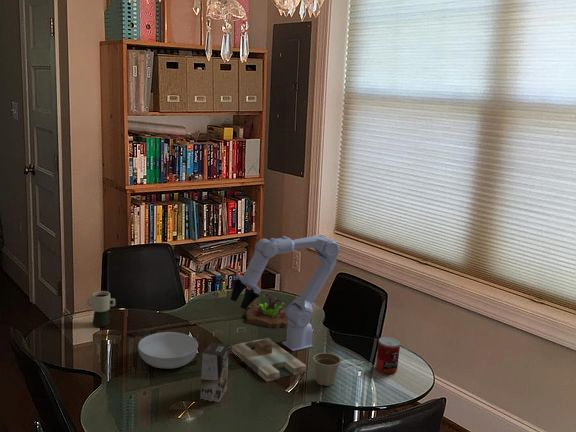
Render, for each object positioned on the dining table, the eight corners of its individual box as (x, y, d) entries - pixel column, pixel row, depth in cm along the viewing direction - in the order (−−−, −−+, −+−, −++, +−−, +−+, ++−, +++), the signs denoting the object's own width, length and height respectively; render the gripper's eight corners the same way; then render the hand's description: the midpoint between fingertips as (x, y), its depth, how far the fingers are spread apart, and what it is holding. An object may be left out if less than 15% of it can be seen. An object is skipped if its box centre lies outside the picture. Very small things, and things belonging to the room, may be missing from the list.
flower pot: (330, 391, 219) (332, 367, 217) (306, 383, 223) (308, 359, 221) (343, 381, 226) (345, 358, 224) (320, 373, 231) (321, 350, 229)
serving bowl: (125, 367, 226) (126, 349, 224) (157, 345, 245) (158, 327, 243) (179, 381, 219) (179, 362, 217) (207, 356, 238) (208, 339, 237)
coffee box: (219, 403, 207) (221, 355, 203) (199, 399, 208) (201, 352, 204) (227, 389, 215) (229, 344, 212) (208, 386, 216) (210, 341, 213)
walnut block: (265, 348, 242) (265, 339, 241) (271, 353, 238) (272, 344, 238) (254, 350, 240) (255, 341, 239) (261, 355, 236) (261, 346, 235)
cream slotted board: (267, 343, 252) (267, 337, 251) (305, 372, 231) (306, 365, 230) (230, 351, 243) (230, 345, 243) (266, 381, 222) (267, 374, 222)
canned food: (384, 375, 232) (387, 347, 230) (371, 366, 239) (374, 338, 236) (401, 372, 236) (404, 344, 233) (388, 363, 242) (391, 335, 240)
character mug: (116, 321, 263) (116, 291, 260) (113, 328, 256) (114, 297, 253) (88, 321, 262) (88, 290, 259) (85, 328, 255) (84, 296, 252)
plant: (250, 308, 288) (252, 284, 285) (294, 313, 286) (296, 288, 283) (241, 325, 269) (243, 299, 266) (288, 330, 266) (290, 305, 264)
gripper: (236, 260, 239) (220, 293, 239) (256, 274, 228) (239, 308, 228) (251, 266, 243) (234, 299, 244) (271, 280, 232) (254, 314, 232)
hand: (237, 304), depth 236 cm, fingers open, 7 cm apart
